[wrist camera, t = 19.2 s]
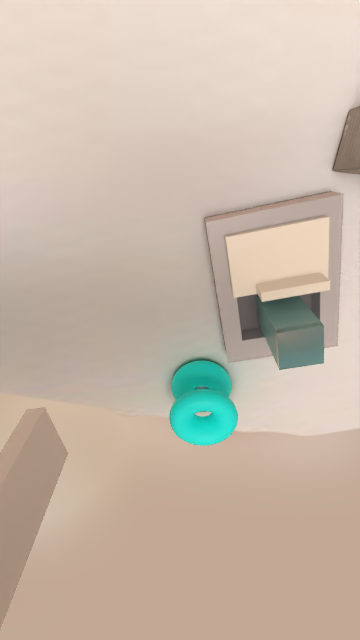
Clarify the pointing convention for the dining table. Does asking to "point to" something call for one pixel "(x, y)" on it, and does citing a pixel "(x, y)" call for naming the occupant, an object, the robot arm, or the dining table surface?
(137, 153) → the dining table surface
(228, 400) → the donuts
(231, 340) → the socket plate
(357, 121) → the skincare box
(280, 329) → the green rectangular box
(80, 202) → the dining table surface
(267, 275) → the shutter
